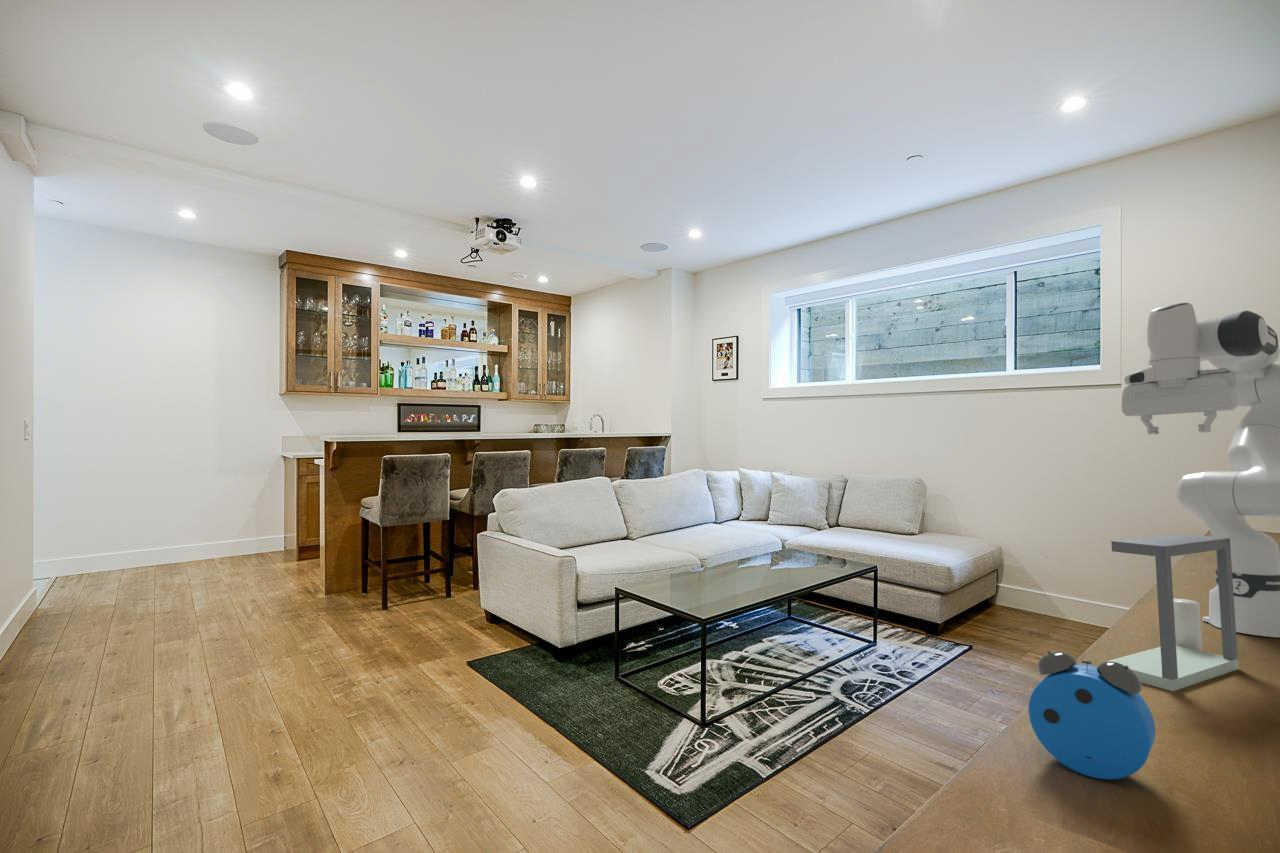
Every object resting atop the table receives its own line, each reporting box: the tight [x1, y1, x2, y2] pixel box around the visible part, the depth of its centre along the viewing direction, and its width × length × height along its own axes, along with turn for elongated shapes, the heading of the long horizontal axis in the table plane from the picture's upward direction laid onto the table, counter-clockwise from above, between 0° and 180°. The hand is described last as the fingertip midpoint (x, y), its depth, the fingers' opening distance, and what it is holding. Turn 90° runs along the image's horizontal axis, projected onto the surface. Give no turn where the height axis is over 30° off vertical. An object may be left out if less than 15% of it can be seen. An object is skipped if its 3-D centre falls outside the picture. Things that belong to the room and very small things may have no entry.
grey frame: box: [1108, 533, 1239, 692], centre depth 119 cm, size 26×11×26 cm, turn 116°
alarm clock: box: [1028, 650, 1156, 780], centre depth 81 cm, size 13×6×15 cm, turn 44°
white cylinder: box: [1173, 597, 1203, 651], centre depth 130 cm, size 6×6×11 cm
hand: (1178, 433), depth 136 cm, fingers open, 8 cm apart
